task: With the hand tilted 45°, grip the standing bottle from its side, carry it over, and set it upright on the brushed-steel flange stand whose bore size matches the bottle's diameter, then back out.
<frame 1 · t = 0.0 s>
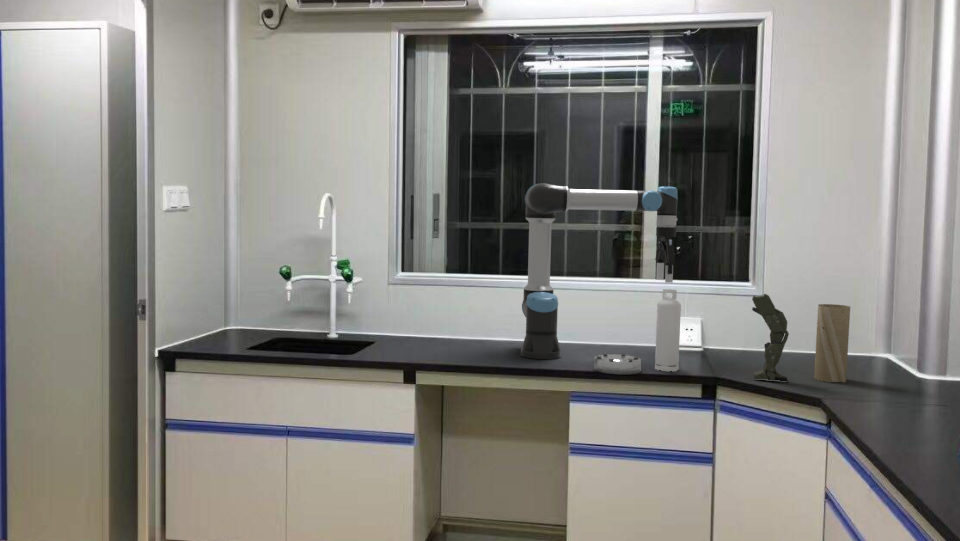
hand: (664, 281, 327), 28 cm above the worktop, tool pointing down, fingers open, 13 cm apart
flange stand: (617, 369, 291), on the worktop
bottle: (666, 369, 294), on the worktop
mechanical leg: (767, 380, 279), on the worktop
tube: (830, 380, 282), on the worktop
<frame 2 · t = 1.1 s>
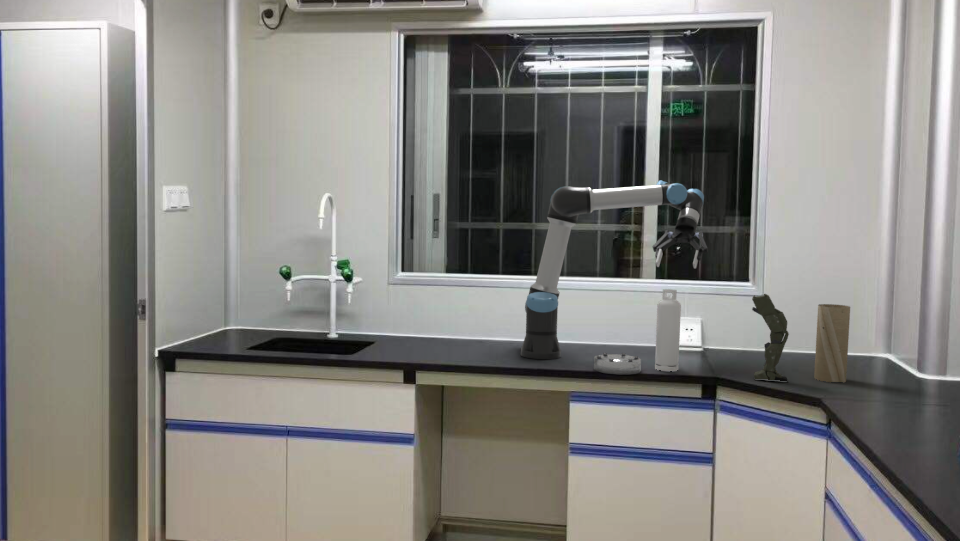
hand: (675, 265, 304), 36 cm above the worktop, tool tilted 45°, fingers open, 13 cm apart
nothing on the worktop moved.
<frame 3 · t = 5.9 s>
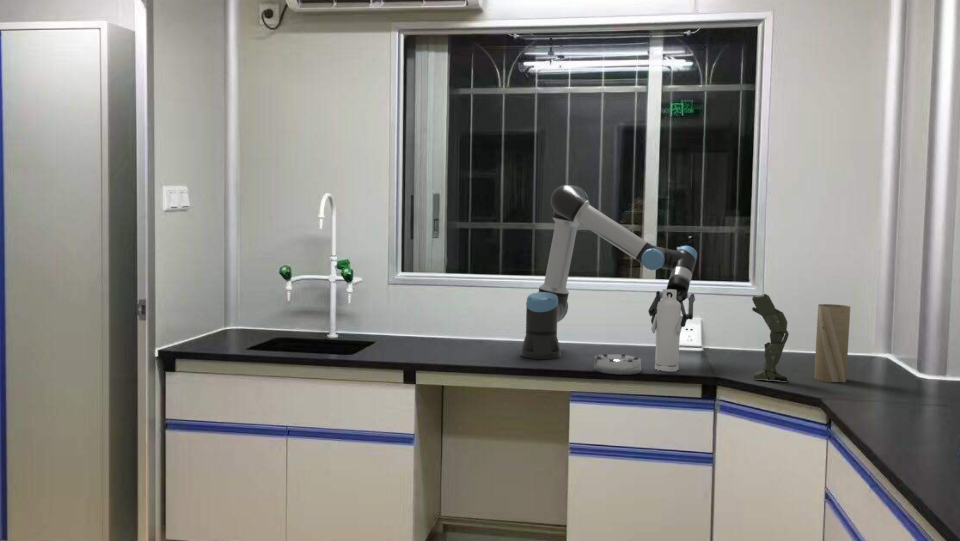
hand: (665, 331, 290), 14 cm above the worktop, tool tilted 45°, fingers closed on bottle, 8 cm apart
bottle: (666, 369, 294), on the worktop, touching gripper
everything else where it was.
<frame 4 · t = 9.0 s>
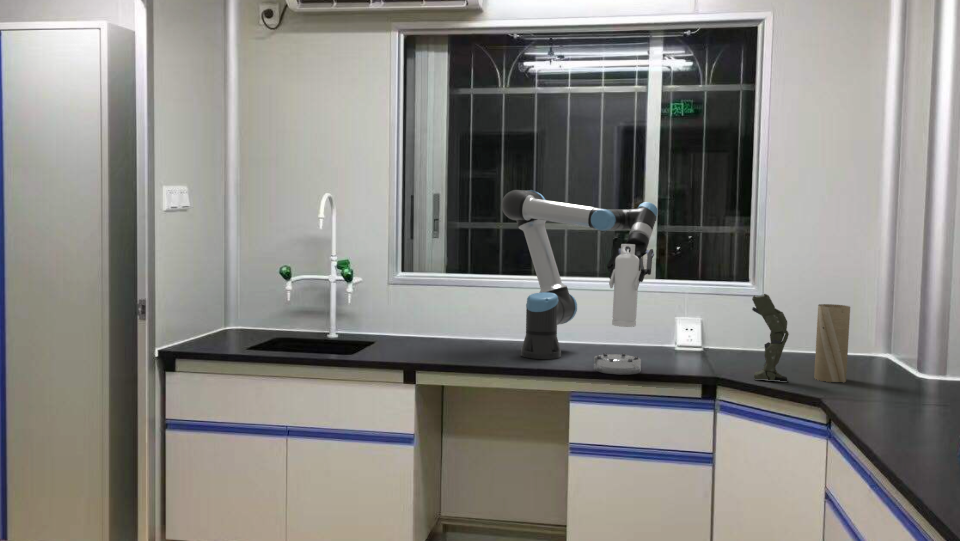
hand: (623, 286, 286), 29 cm above the worktop, tool tilted 45°, fingers closed on bottle, 8 cm apart
bottle: (623, 325, 290), point 16 cm above the worktop, touching gripper
everything else where it was.
when the fingers open (19 cm above the worktop, at t = 12.0 s): bottle drops 1 cm, resting on flange stand.
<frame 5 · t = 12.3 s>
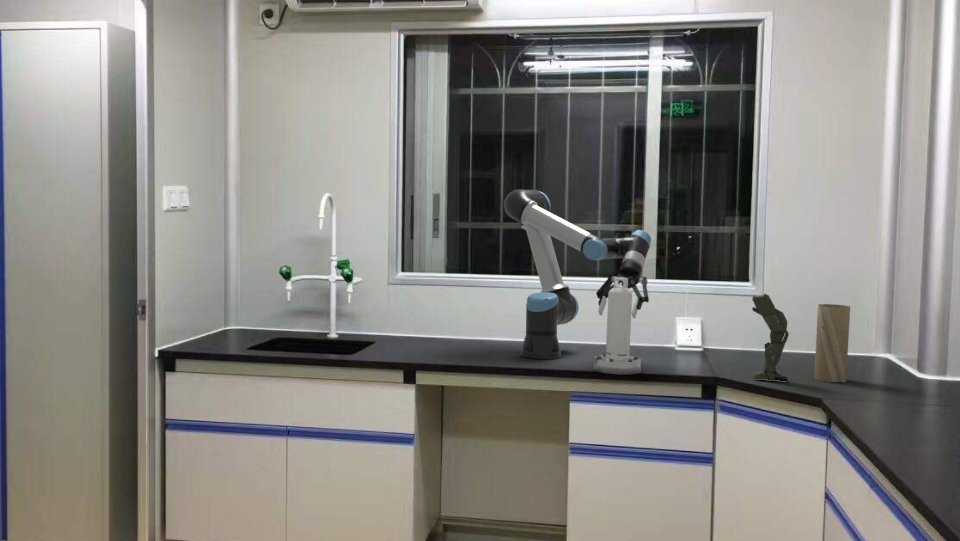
hand: (616, 314, 287), 20 cm above the worktop, tool tilted 45°, fingers open, 11 cm apart
bottle: (617, 358, 290), point 4 cm above the worktop, touching flange stand
everything else where it was.
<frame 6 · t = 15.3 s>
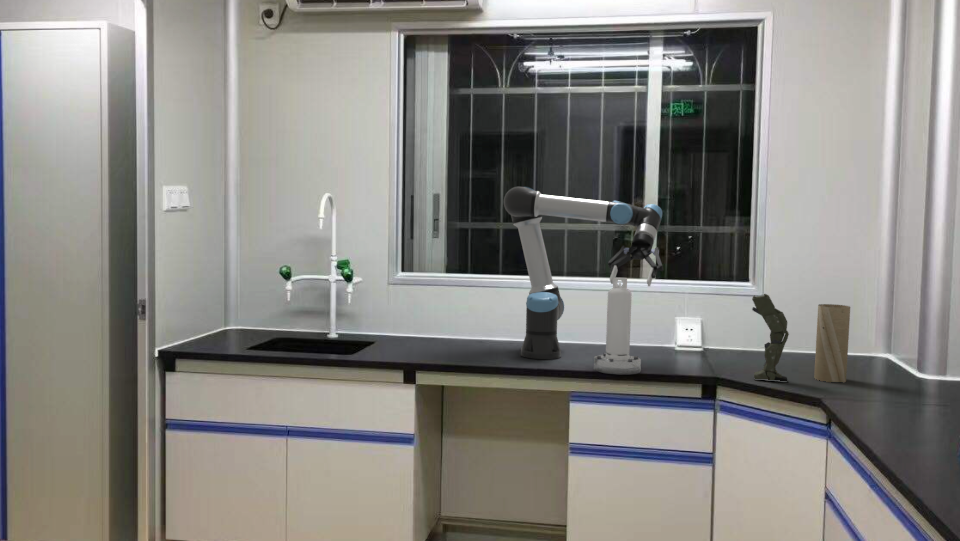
hand: (629, 282, 297), 30 cm above the worktop, tool tilted 45°, fingers open, 13 cm apart
nothing on the worktop moved.
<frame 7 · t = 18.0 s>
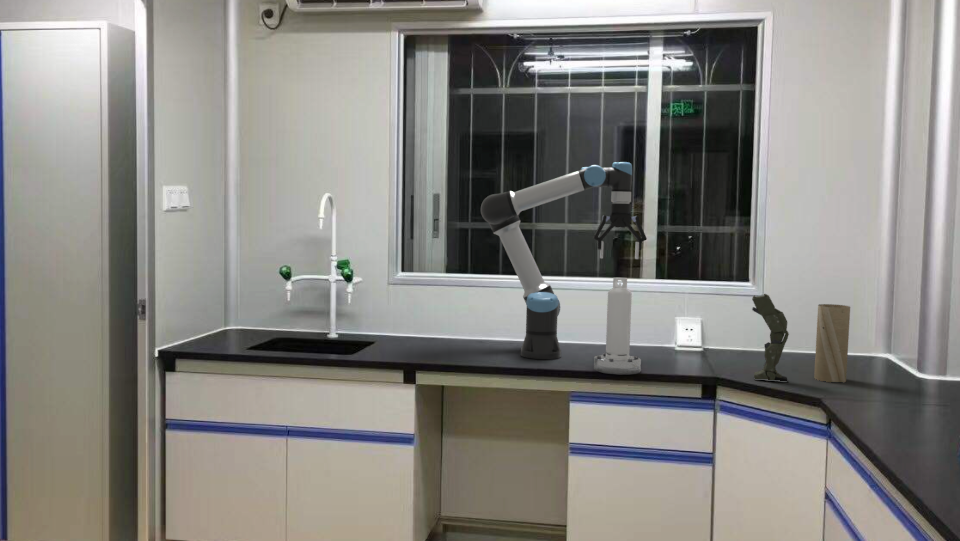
hand: (619, 258, 320), 37 cm above the worktop, tool pointing down, fingers open, 13 cm apart
nothing on the worktop moved.
at the end: bottle 0.1 cm off-centre on the flange stand, point 3.8 cm above the flange stand's base; bottle tilted 0°; the gripper is holding nothing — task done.
